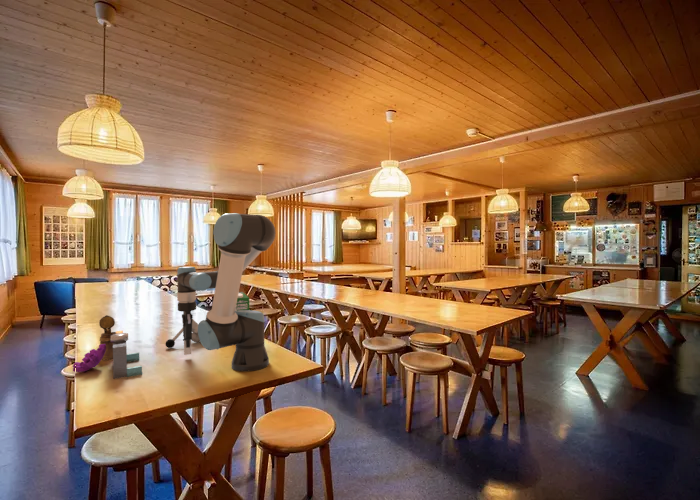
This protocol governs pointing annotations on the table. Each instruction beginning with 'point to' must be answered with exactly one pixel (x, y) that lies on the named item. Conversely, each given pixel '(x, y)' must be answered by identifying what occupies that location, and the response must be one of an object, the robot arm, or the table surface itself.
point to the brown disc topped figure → (107, 336)
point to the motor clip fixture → (123, 357)
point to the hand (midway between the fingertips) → (187, 353)
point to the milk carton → (242, 302)
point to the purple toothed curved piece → (90, 359)
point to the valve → (171, 342)
